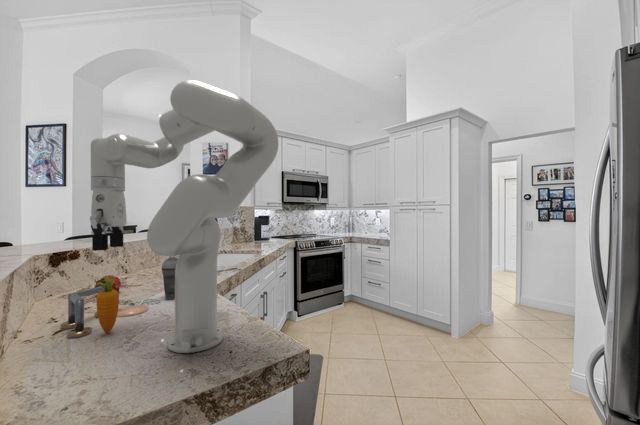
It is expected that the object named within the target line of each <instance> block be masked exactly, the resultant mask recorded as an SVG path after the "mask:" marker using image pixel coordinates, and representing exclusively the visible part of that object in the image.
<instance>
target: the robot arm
mask: <svg viewBox="0 0 640 425" xmlns="http://www.w3.org/2000/svg"><path fill="white" fill-rule="evenodd" d="M169 98H170V99H169V100H170V104H171V106H172V109H170V110H168V111H166V112H164V113H163V114H161V116H160V117H159V128H160V131H161V133H162V134H163V137H161V138H160V139H157V140H155V141H152V142H151V141H149V140H144V139H142V138H139V137H135V136H131V135H129V134H128V135H127V134H125V133H114V134H112V135H109V136H106V137H99V138H94V139H92V140H91V142H90V191H92V194H91V195H92V196H91V205H90V206H91V208H90V209H91V210H90V213H91V214H90V215H91V216H89V221H90V229H91V236H92V240H91V241H92V242H91V244H92V248H91V250H92V251H93V252H94V251H107V250H109V248H121V247H124V227H125V226H126V225H127V209H126V208H127V206H126V198H125V192H126V165H127V166H134V167H139V168H143V169H155V168H156V169H157V168H159V167H162V166H164V165H167V164H169V163H171V162H173V161H175V160H176V159H177V158H178V157H179V156H180V154H181V153H182V151H183V150H184V146H185V145H187V144H188V143H191V142H193V141H195V140H198V139H200V138H201V137H204V136H206V135H208V134H211V133H212V132H214V131H215V132H216V133H217V132H218V133H220V134H222V135H223V136H225V137H226V136H227V137H228V138H231V139H232V140H235V141H237V142H239V143H240V144H242V146H241V149H239V150H237V151H236V152H234V153H233V154H231V155H230V157H228V158H227V159H226V161H225V162H224V164H223V166H222V167H221V168H220V169H219V170H218V172H217V173H216V174H215V175H207V174H202V173H201V174H200V173H199V174H192V175H190V176H187V177H185V178H184V179H182V180H181V181H180V182H179V183H178V184H177V185H176V186H175V187H174V188H173V190H172V192H170V194H169V196H168V197H167V198H166V199H165V201H164V202H163V204H162V205H161V207H160V208H159V209H158V210H157V212H156V214H155V215H154V217H153V218H152V220H151V221H150V223H149V226H148V228H147V234H146V240H147V241H146V242H147V244H148V247H149V248H150V249H151V250H152V252H154V253H155V254H157V255H159V256H162V257H170V256H171V257H175V256H178V257H177V258H178V261H177V264H176V269H175V299H174V335H173V336H170V338H169V339H168V340H167V349H168V350H170V351H171V352H174V353H178V354H190V353H191V354H192V353H196V352H197V353H198V352H202V351H205V350H209V349H212V348H214V347H216V346H218V345H219V344H221V343H222V341H223V339H224V332H223V330H222V329H220V328H218V279H217V278H218V254H219V248H220V243H221V228H220V224H219V223H218V221H217V219H225V218H228V217H230V216H232V215H233V214H234V213H235V212H236V211H237V210H238V209H239V207H240V206H241V204H242V203H243V202H244V201H245V199H246V198H247V196H248V195H250V192H251V191H253V189H254V187H255V186H256V184H257V183H258V182H259V181H260V179H261V178H262V177H263V175H264V174H265V173H266V172H267V170H268V169H269V168H270V167H271V165H272V164H273V162H274V161H275V158H276V157H277V154H278V150H279V136H278V133H277V131H276V128H275V127H274V124H273V123H272V122H271V121H270V119H269V118H268V117H267V116H266V115H265V114H264V113H262V112H261V111H260V110H259V109H257V108H256V107H254V106H253V105H252V104H250V103H249V102H248V101H246V100H245V99H244V98H243V97H242V96H239V95H237V94H235V93H233V92H230V91H227V90H225V89H221V88H219V87H215V86H213V85H211V84H208V83H205V82H203V81H200V80H197V79H186V80H182V81H180V82H178V83H177V84H176V85H175V86H174V87H173V89H172V91H171V94H170V96H169ZM108 228H109V229H110V232H111V233H110V232H109V234H107V232H108Z"/></svg>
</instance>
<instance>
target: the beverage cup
mask: <svg viewBox="0 0 640 425" xmlns="http://www.w3.org/2000/svg"><path fill="white" fill-rule="evenodd" d="M178 258H179V257H175V256H169V257H168V258H166V259H165V260H164V261H163V262H162V265H161V268H160V270H161V273H162V280H163V288H164V289H163V290H164V296H165V301H175V269H176V264H177V261H178Z"/></svg>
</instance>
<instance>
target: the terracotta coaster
mask: <svg viewBox="0 0 640 425" xmlns="http://www.w3.org/2000/svg"><path fill="white" fill-rule="evenodd" d="M149 309H150V308H149V305H143V304H142V305H141V304H136V305H129V306H123V307H121V308H118V313H117V318H125V317H126V318H127V317H133V316H137V315H142V314H144V313H146V312H148V311H149Z"/></svg>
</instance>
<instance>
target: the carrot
mask: <svg viewBox="0 0 640 425" xmlns="http://www.w3.org/2000/svg"><path fill="white" fill-rule="evenodd" d="M103 277H104V276H103ZM104 279H105V282H106V284H107V285H106V284H103V283H100V282H99V283H97V285H100V286H102V287H103V288H104V290H105V291H102V292H99V293H96V298H95V299H96V312H97V314H98V318H97V319H98V322H99V324H100V327H101V329H102V331H103V332H104V333H105V334H106V335H109V334H110V333H111V331H112V330H113V329H114V326H115V324H116V321H117V318H118V317H117V313H118V309H119V304H120V303H119V302H120V293H119V292H117V291H116V290H111V288H112V285H113V281H114V279H111V280H109V279H108V277H104Z"/></svg>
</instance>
